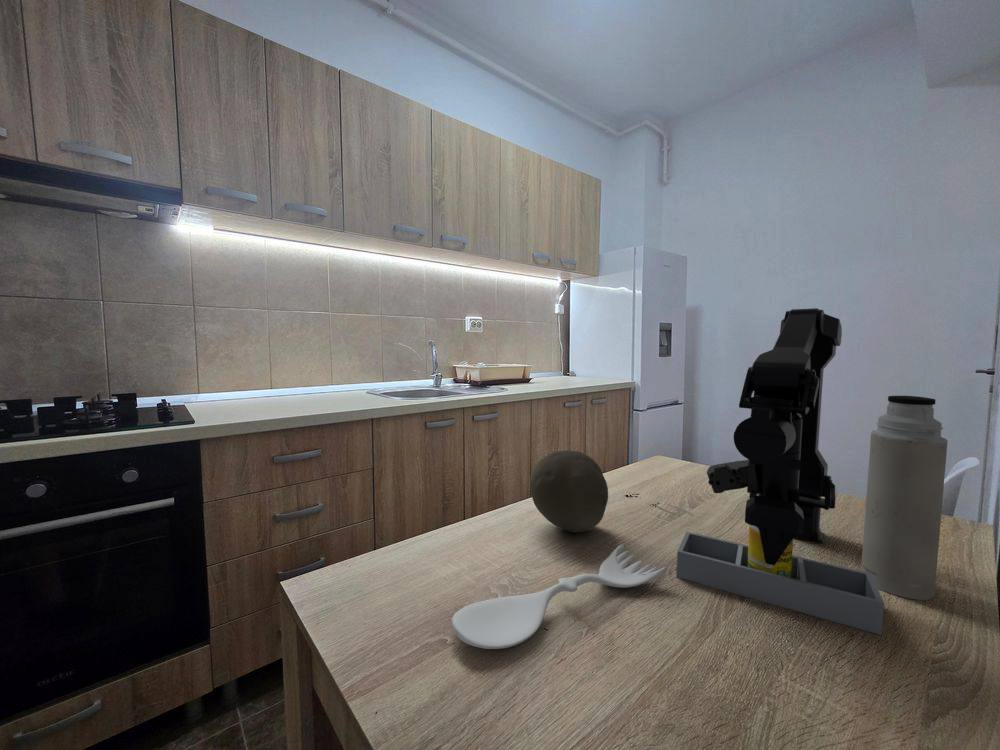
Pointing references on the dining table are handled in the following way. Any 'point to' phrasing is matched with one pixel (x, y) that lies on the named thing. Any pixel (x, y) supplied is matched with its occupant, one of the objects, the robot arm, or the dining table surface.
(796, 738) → the dining table surface
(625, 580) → the spoon
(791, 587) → the slot holder
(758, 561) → the supplement bottle
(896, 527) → the thermos bottle
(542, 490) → the brown coconut
